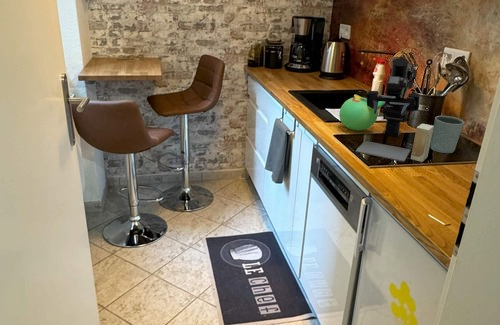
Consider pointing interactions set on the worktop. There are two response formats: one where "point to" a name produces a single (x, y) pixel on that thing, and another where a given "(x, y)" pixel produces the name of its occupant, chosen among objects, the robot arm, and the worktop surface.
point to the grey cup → (446, 133)
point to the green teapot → (358, 113)
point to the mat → (383, 151)
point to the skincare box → (422, 142)
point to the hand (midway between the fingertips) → (387, 114)
